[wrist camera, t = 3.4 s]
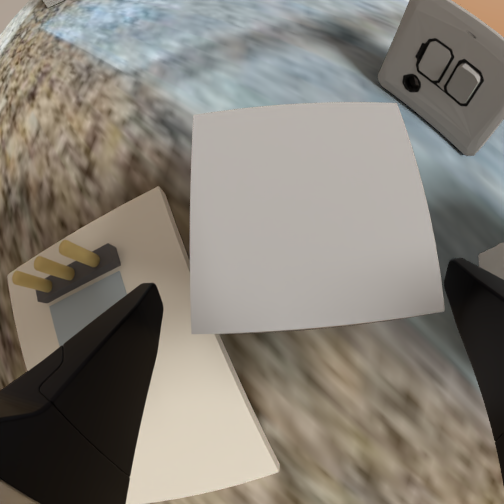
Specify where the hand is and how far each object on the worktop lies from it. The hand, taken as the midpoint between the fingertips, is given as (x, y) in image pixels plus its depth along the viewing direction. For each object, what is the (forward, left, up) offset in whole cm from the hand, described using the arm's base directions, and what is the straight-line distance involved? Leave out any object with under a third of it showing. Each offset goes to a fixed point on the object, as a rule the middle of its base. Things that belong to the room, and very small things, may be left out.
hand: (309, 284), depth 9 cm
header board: (+2, +11, -9) cm, 15 cm away
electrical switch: (+7, -18, -9) cm, 21 cm away
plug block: (+1, -1, -9) cm, 9 cm away
